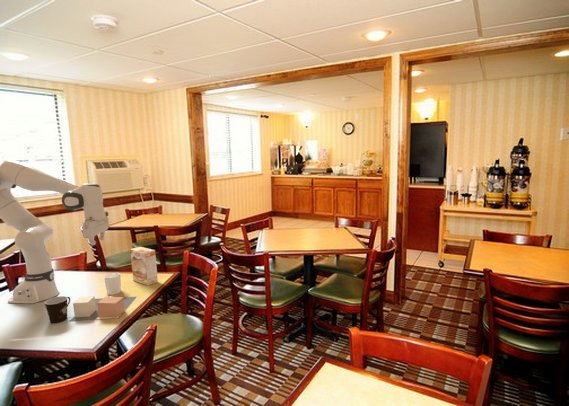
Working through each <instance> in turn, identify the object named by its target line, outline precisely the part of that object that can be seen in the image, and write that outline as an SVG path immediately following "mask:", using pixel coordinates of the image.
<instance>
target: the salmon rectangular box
mask: <svg viewBox="0 0 569 406" xmlns="http://www.w3.org/2000/svg"><path fill="white" fill-rule="evenodd" d="M124 297H125V296H123V297H122V296H121V297H120V296H113V297H110V296H105V297H104V298H103V299H102V300H101V301H99V302H98V303H97V306H98V315H99V317H113V318H117V317H118V316H120V315H121V314H122V313H123V312H124V311H125V306H124ZM125 312H126V311H125ZM125 312H124V313H125ZM124 313H123V314H124ZM123 314H122V315H123ZM122 315H121V316H122Z"/></svg>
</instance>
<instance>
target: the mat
mask: <svg viewBox="0 0 569 406" xmlns="http://www.w3.org/2000/svg"><path fill="white" fill-rule="evenodd" d="M123 297H124V306H125V311H124V312H123V313H122V314H121V315H120V316H118V317H117V318H113V317H99V315H98V306H97V303H98V302H99V301H101V300H102V299H103V298H95V305H96V311H95V312H94V313H93V314H92V315H91V316H90V317H75V315H74V316H73V317H72V318H71V319H70V320H69V322H81V321H82V322H83V321H84V322H85V321H95V320H96V321H101V320H118V319H120V318H121V317H122V316H123V314H124V313H125V312H126V311H127V309H128V308H129V307H130V305H131V304H132V303H133V302H134V301H135V300H136V299H137V296H123Z"/></svg>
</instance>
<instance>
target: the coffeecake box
mask: <svg viewBox="0 0 569 406" xmlns="http://www.w3.org/2000/svg"><path fill="white" fill-rule="evenodd" d="M129 252H130V259H131V261H130V263H131V271H132V273H131V274H132V281H133V282H137V283H140V284H142V285H145V286H150V285H153V284H155V283H158V281H159V279H158V268H157V256H156V249H151V248H147V247H143V246H138V247H134V248H130V251H129Z"/></svg>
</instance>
